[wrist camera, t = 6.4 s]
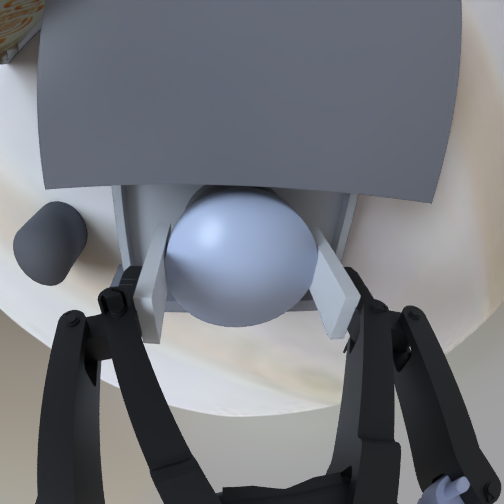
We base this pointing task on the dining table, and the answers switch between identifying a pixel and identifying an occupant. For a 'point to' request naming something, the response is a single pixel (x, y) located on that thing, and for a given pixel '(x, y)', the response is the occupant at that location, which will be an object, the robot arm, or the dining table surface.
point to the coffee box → (18, 25)
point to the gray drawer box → (249, 93)
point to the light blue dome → (240, 257)
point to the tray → (173, 198)
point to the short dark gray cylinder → (50, 243)
